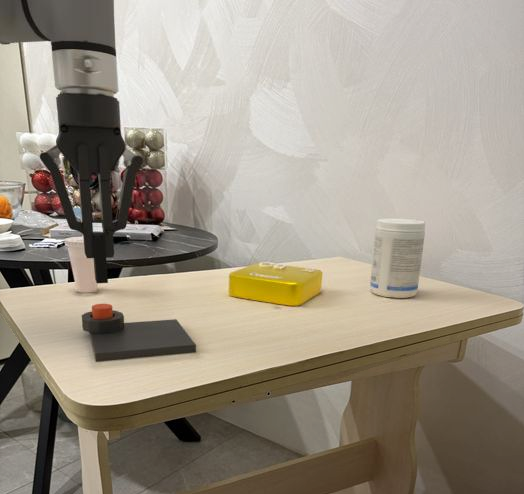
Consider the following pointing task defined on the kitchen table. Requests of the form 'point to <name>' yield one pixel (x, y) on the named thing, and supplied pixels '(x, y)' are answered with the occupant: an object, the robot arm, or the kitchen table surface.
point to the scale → (135, 338)
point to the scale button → (102, 311)
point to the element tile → (275, 283)
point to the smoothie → (81, 265)
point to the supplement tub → (397, 257)
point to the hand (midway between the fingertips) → (101, 280)
